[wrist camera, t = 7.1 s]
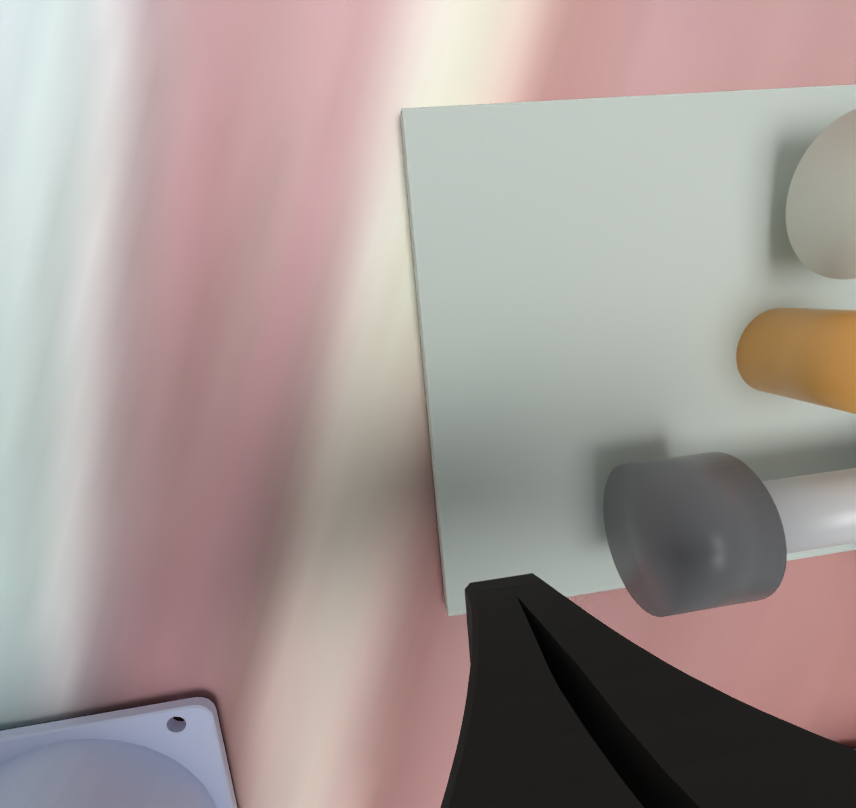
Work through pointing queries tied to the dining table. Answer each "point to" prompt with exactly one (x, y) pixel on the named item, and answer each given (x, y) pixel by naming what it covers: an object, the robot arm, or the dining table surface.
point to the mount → (603, 310)
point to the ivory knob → (826, 202)
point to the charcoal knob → (717, 528)
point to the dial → (802, 355)
